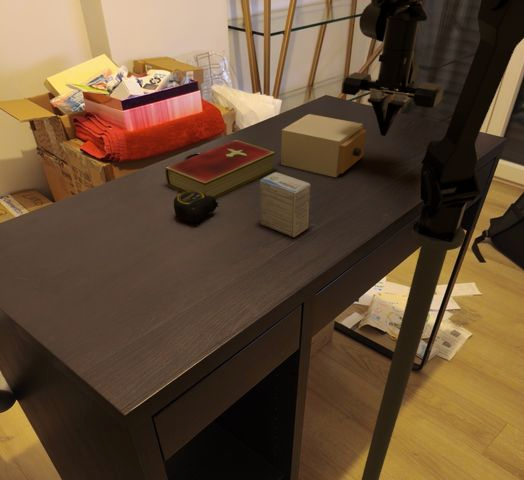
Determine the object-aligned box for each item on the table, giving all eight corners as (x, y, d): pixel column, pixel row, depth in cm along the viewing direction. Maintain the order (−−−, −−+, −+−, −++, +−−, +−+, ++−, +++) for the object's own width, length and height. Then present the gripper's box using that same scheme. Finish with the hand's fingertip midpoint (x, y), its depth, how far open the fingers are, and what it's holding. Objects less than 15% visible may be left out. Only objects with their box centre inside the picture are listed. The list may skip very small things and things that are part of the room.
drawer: (367, 157, 109) (371, 130, 105) (347, 174, 102) (350, 147, 98) (314, 145, 114) (316, 120, 110) (291, 161, 107) (292, 135, 103)
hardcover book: (167, 185, 100) (164, 165, 97) (235, 156, 112) (235, 138, 109) (206, 202, 94) (204, 181, 92) (275, 170, 106) (275, 150, 103)
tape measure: (195, 228, 87) (193, 209, 84) (167, 218, 90) (164, 199, 87) (219, 214, 91) (217, 195, 88) (191, 204, 94) (190, 186, 91)
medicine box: (308, 229, 86) (311, 183, 81) (293, 239, 84) (295, 191, 78) (275, 216, 90) (275, 170, 84) (259, 224, 88) (259, 178, 82)
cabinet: (358, 158, 111) (363, 123, 106) (335, 177, 103) (339, 141, 98) (306, 147, 116) (308, 113, 111) (280, 164, 108) (281, 129, 103)
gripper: (460, 44, 89) (439, 131, 100) (367, 34, 97) (357, 116, 107) (443, 56, 82) (423, 148, 93) (344, 44, 90) (336, 131, 100)
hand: (383, 135), depth 99 cm, fingers closed
